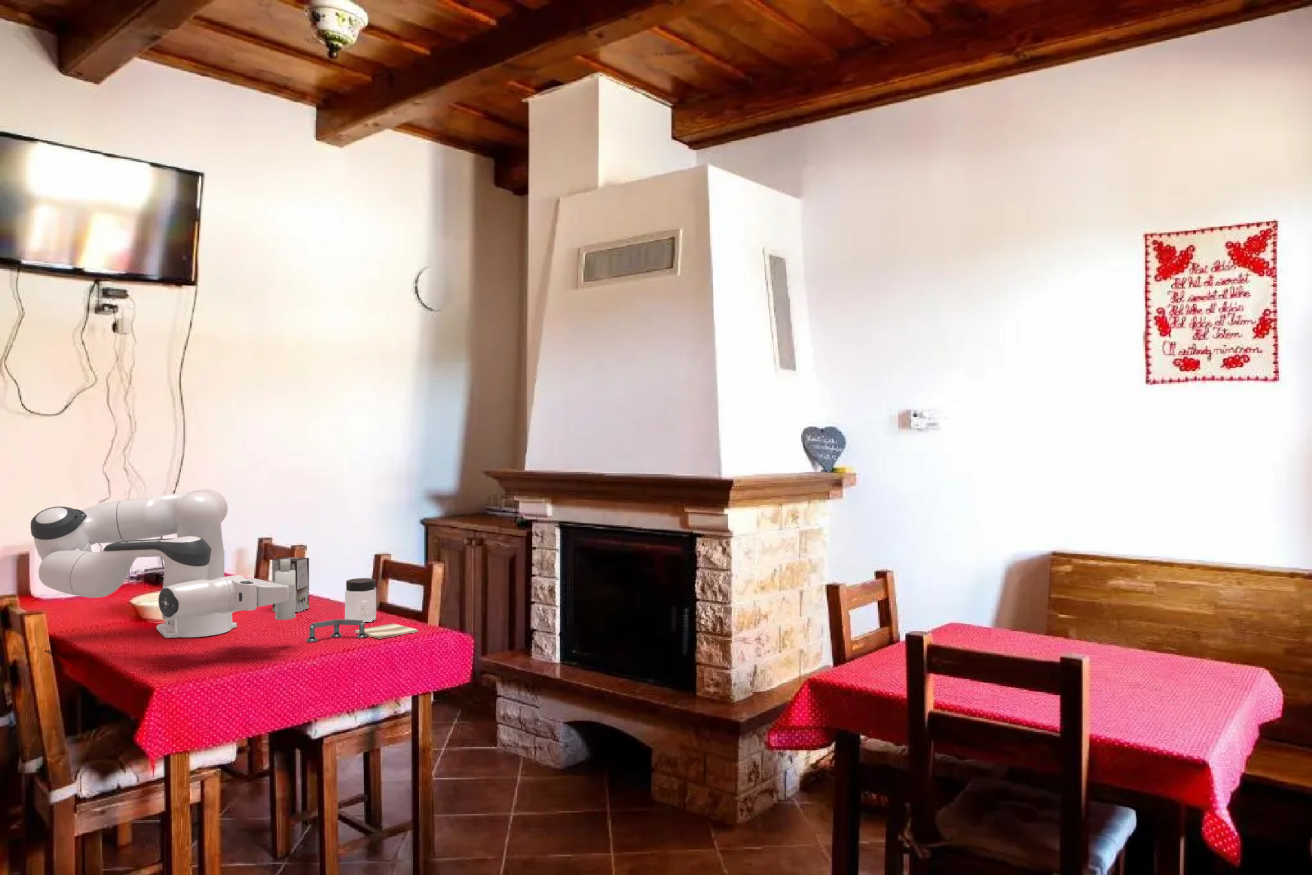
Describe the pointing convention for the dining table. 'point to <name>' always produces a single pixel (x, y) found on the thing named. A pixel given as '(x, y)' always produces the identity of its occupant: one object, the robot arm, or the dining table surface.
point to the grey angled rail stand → (336, 628)
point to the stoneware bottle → (288, 577)
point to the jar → (360, 599)
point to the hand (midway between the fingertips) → (288, 585)
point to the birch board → (387, 631)
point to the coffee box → (296, 580)
